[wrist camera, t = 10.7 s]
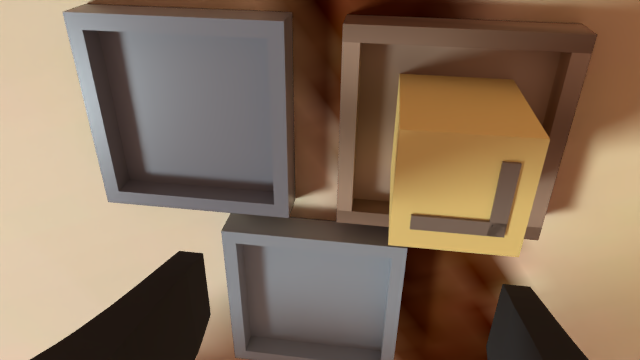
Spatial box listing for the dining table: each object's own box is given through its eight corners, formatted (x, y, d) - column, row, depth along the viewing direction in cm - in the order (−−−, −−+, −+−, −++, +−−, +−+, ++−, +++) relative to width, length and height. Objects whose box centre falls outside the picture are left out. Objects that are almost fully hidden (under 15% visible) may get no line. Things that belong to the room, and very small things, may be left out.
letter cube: (492, 177, 20) (519, 258, 15) (390, 169, 20) (387, 247, 16) (513, 79, 18) (551, 140, 13) (399, 73, 18) (399, 130, 14)
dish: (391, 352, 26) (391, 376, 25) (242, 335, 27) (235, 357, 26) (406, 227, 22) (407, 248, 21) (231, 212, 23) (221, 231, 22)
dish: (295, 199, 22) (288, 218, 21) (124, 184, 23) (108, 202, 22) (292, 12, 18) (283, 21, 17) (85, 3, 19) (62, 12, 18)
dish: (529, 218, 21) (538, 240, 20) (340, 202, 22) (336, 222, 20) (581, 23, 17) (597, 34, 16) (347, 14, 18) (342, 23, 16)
